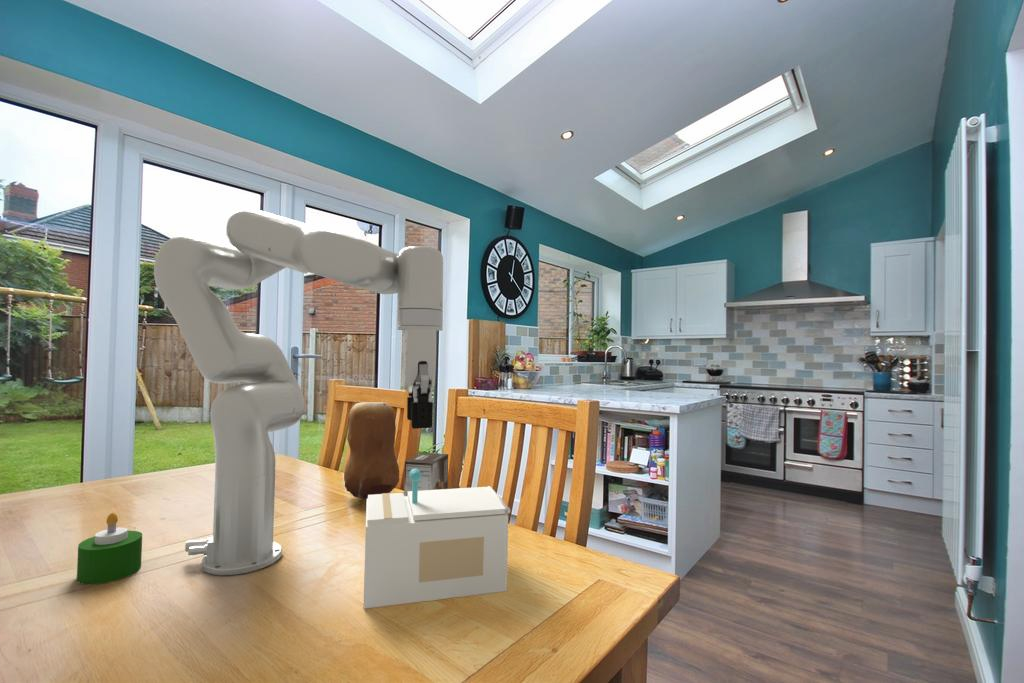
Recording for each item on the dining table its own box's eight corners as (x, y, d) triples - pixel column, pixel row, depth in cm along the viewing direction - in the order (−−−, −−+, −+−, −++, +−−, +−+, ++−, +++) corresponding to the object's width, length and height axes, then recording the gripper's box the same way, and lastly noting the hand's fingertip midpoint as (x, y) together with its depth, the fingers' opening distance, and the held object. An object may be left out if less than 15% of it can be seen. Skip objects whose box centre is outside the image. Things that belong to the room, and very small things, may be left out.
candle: (88, 566, 83) (91, 507, 83) (147, 559, 86) (149, 502, 86) (67, 588, 75) (69, 524, 75) (132, 579, 78) (134, 517, 78)
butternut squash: (376, 488, 132) (378, 397, 133) (409, 497, 125) (411, 401, 125) (331, 500, 121) (334, 401, 122) (364, 511, 113) (367, 405, 114)
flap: (412, 521, 73) (413, 480, 74) (406, 496, 86) (407, 461, 86) (510, 513, 78) (511, 474, 78) (491, 491, 90) (492, 457, 91)
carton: (363, 609, 71) (365, 521, 71) (364, 567, 84) (366, 493, 85) (506, 591, 77) (508, 510, 77) (486, 555, 90) (488, 486, 91)
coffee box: (419, 525, 105) (421, 451, 106) (447, 528, 104) (449, 453, 104) (402, 541, 96) (404, 460, 97) (432, 544, 95) (434, 463, 95)
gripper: (394, 324, 88) (393, 417, 87) (400, 317, 71) (398, 432, 71) (435, 324, 90) (434, 416, 90) (450, 318, 73) (449, 430, 73)
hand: (419, 423), depth 80 cm, fingers open, 9 cm apart
